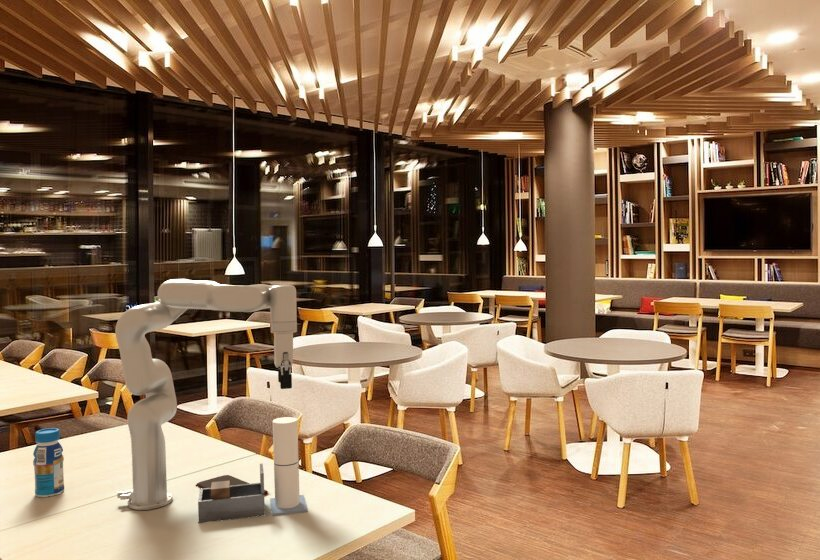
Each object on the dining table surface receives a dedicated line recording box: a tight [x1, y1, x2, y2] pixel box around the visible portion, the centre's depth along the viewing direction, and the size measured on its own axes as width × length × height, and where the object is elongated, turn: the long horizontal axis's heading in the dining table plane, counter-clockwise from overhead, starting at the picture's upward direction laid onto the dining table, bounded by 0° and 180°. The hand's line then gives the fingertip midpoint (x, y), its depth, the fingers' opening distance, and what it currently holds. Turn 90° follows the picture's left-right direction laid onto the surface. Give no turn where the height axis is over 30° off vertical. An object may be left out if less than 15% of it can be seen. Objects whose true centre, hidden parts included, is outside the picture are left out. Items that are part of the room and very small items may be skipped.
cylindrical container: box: [272, 416, 301, 509], centre depth 193 cm, size 7×7×25 cm
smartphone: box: [195, 474, 269, 497], centre depth 208 cm, size 12×2×25 cm
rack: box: [197, 463, 266, 524], centre depth 189 cm, size 18×11×12 cm, turn 105°
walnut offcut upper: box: [211, 481, 230, 500], centre depth 189 cm, size 5×6×4 cm
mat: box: [269, 494, 308, 516], centre depth 194 cm, size 10×12×1 cm
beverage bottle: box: [32, 427, 65, 498], centre depth 207 cm, size 8×8×20 cm
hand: (284, 385), depth 192 cm, fingers open, 9 cm apart
